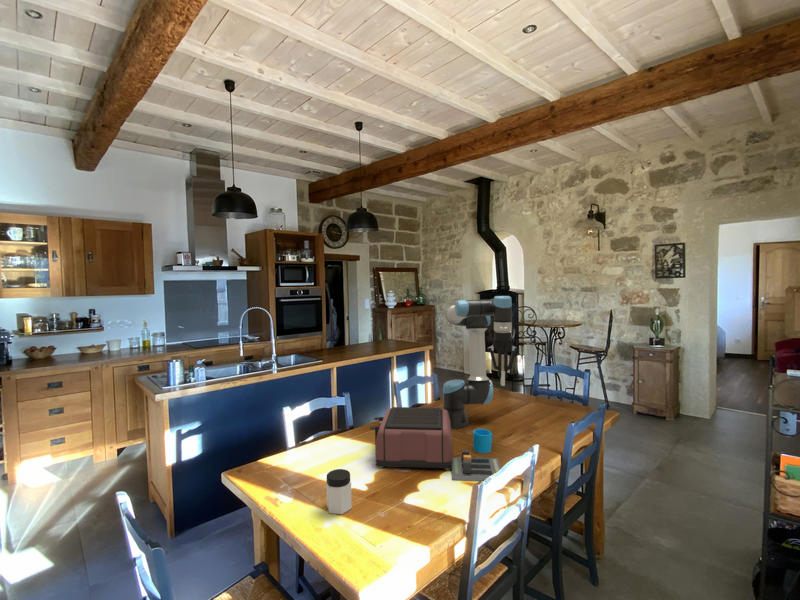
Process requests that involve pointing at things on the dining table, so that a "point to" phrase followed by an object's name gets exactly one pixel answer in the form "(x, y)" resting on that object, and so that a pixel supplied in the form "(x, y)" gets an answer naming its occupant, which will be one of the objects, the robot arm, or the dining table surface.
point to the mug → (482, 440)
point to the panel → (475, 468)
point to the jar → (338, 491)
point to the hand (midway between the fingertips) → (502, 385)
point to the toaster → (413, 438)
